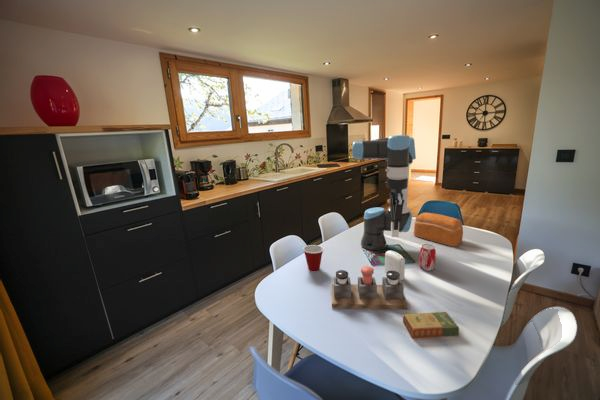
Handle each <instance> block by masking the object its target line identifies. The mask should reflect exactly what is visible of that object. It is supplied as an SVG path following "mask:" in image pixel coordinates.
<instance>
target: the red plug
mask: <svg viewBox="0 0 600 400" xmlns="http://www.w3.org/2000/svg"><path fill="white" fill-rule="evenodd" d="M374 270H375V268H374V267H371V266H368V265H363V266H361V267H360V272H361V274H362V276H361V277H362V285H372V277H373V274H374V273H375V271H374Z"/></svg>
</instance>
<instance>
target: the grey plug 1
mask: <svg viewBox="0 0 600 400" xmlns="http://www.w3.org/2000/svg"><path fill="white" fill-rule="evenodd" d="M335 277H337V284H346V285H347V278H348V277H349V272H348V271H347V270H343V269H339V270H337V271H336V272H335Z"/></svg>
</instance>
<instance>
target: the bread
mask: <svg viewBox="0 0 600 400" xmlns="http://www.w3.org/2000/svg"><path fill="white" fill-rule="evenodd" d="M413 236H414V237H417V238H420V239H424V240H428V241H431V242H434V243H437V244H438V243H439V244H441V245H446V246H449V247H451V248H452V247H453V248H454V247H458V246H459V245H460V244H461V243H463V236H464V229H463V222H462V221H461V219H459V218H455V217H451V216H448V215H443V214H440V213H439V214H438V213H434V212H432V213H431V212H424V211H423V212H422V213H420V214H417V216H416V218H415V221H414V226H413Z"/></svg>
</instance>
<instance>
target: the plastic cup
mask: <svg viewBox="0 0 600 400" xmlns="http://www.w3.org/2000/svg"><path fill="white" fill-rule="evenodd" d="M302 251H303V252H304V256H305V260H306V264H307V269H308V270H310V272H311V273H315V272H319V270H320V268H321V263H322V256H323V252H324V251H325V248H324V247H323V246H321V245H317V244H310V245H309V244H308V245H305V246H304V247H302Z"/></svg>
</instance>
